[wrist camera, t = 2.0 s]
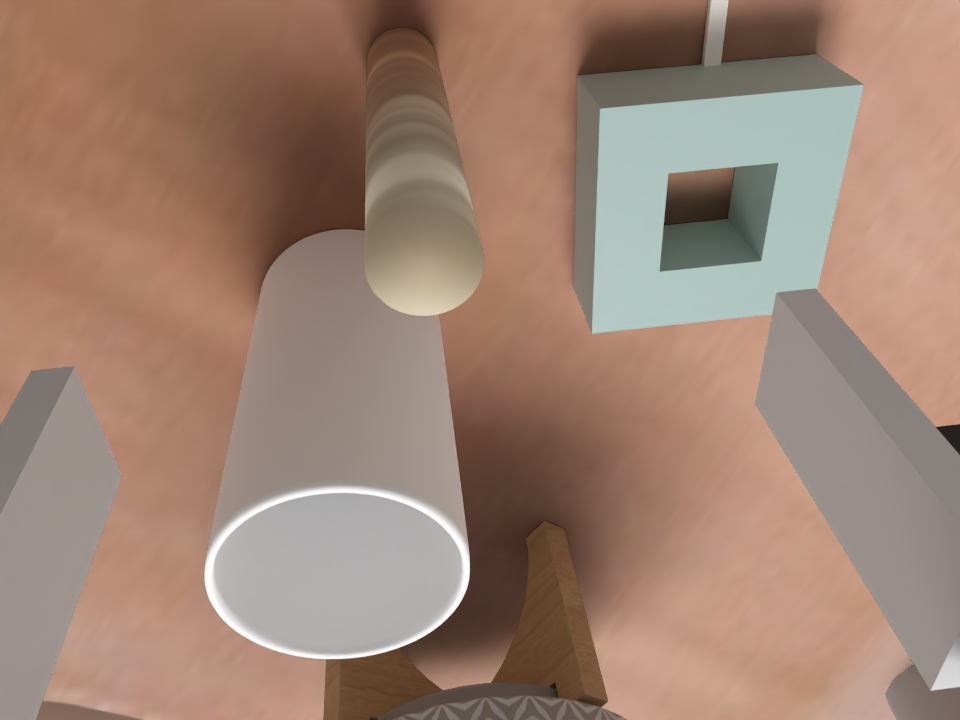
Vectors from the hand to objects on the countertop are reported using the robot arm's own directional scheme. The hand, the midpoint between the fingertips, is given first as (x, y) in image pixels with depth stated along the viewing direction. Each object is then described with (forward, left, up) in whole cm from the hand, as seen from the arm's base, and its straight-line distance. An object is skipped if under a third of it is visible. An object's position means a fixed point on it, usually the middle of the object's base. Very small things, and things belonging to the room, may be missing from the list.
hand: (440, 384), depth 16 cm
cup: (+11, -4, -21) cm, 23 cm away
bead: (+6, +12, -20) cm, 24 cm away
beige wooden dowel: (0, 0, -20) cm, 20 cm away
